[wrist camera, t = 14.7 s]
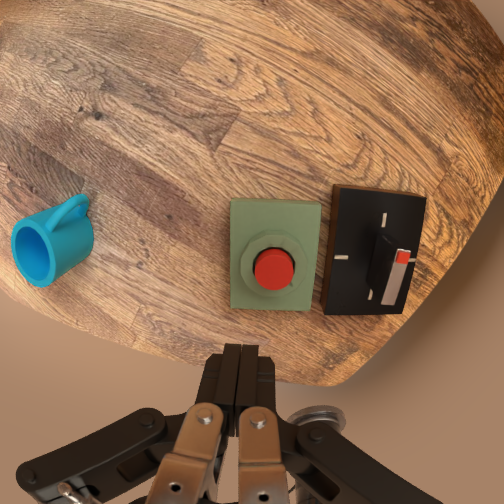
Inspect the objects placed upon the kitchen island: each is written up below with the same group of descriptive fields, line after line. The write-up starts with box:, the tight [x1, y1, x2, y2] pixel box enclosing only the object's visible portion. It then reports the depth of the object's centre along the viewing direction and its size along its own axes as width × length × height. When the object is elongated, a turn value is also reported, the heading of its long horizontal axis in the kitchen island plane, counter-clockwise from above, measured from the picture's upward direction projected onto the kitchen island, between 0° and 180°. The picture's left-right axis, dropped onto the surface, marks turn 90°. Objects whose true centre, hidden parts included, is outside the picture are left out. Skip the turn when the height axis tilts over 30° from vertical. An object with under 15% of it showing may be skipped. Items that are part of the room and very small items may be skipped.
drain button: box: [255, 249, 294, 290], centre depth 27 cm, size 4×4×2 cm
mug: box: [11, 194, 94, 288], centre depth 27 cm, size 12×8×8 cm
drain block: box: [230, 198, 322, 311], centre depth 29 cm, size 12×9×4 cm
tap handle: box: [366, 233, 411, 305], centre depth 25 cm, size 6×2×5 cm, turn 174°
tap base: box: [320, 184, 427, 315], centre depth 29 cm, size 14×10×3 cm
